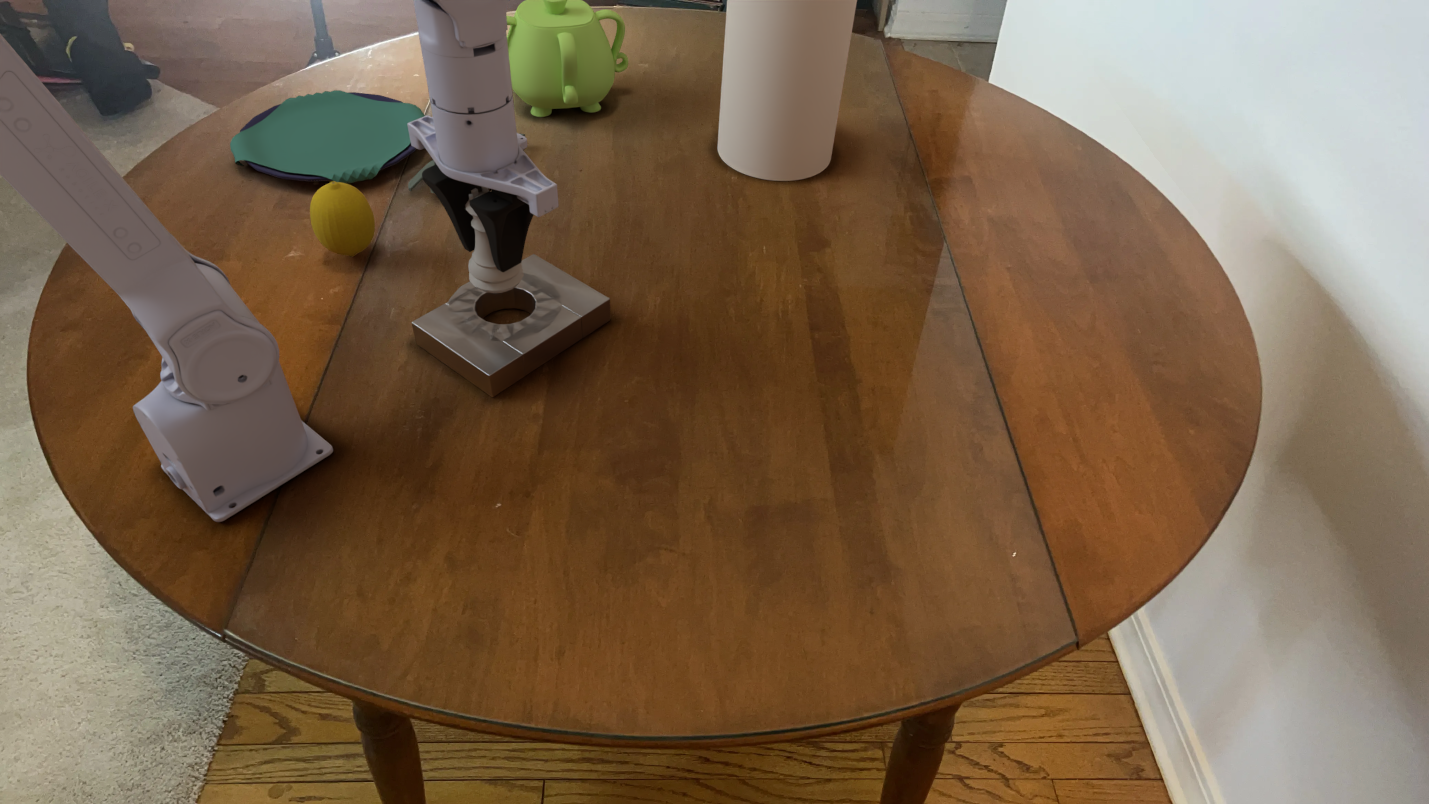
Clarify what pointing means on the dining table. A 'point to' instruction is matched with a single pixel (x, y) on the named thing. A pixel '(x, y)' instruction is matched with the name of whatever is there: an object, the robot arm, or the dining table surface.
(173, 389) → the robot arm
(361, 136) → the cutlery set
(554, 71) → the teapot
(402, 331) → the dining table surface
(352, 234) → the lemon
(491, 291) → the rook chess piece
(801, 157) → the canister
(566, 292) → the stand
